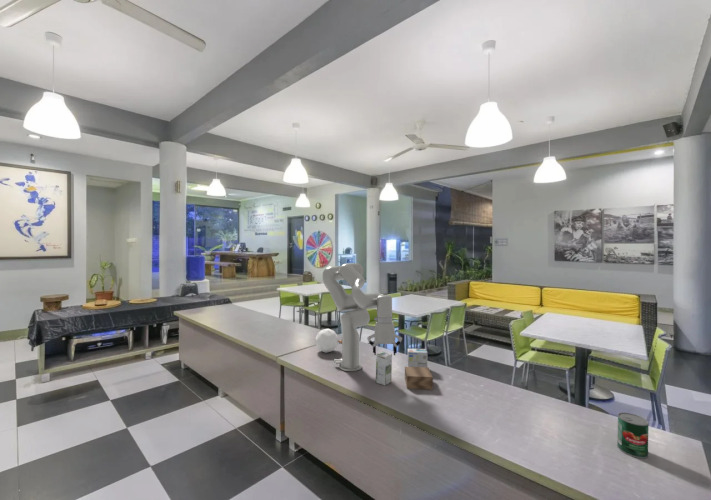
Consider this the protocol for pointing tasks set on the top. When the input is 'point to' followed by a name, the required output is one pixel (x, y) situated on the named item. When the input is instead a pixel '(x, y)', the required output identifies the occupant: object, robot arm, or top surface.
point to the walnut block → (418, 378)
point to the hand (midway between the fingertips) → (384, 354)
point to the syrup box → (383, 368)
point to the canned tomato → (633, 435)
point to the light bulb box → (417, 358)
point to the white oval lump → (327, 340)
